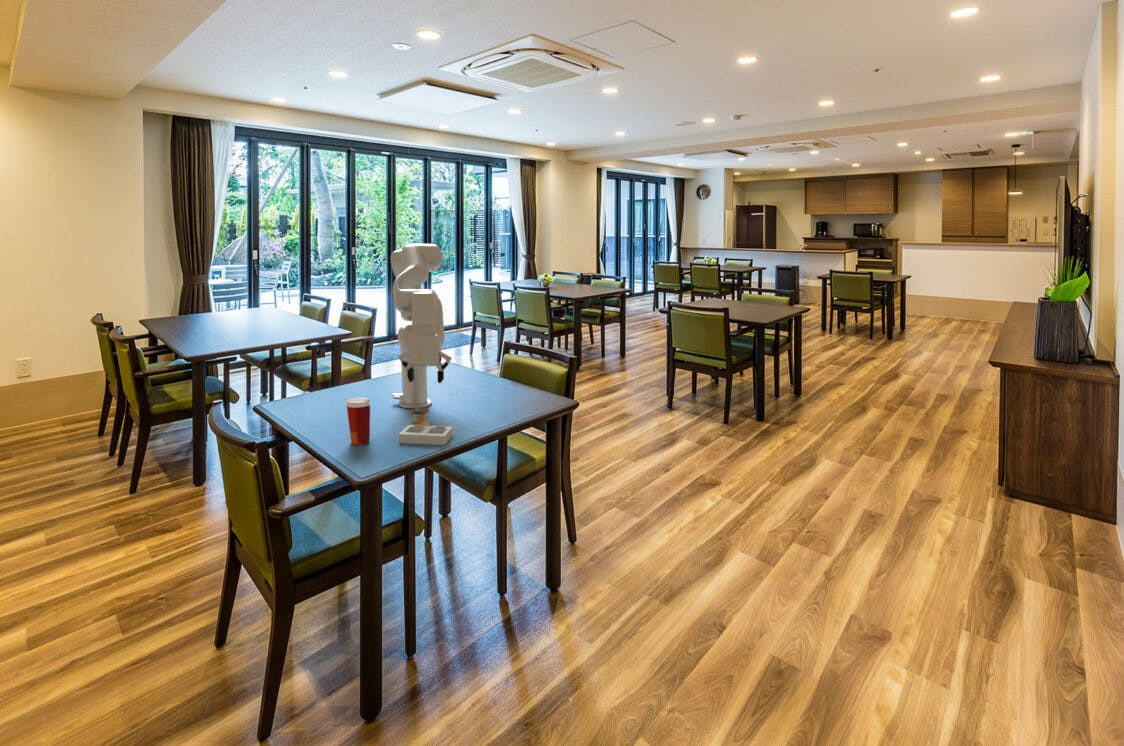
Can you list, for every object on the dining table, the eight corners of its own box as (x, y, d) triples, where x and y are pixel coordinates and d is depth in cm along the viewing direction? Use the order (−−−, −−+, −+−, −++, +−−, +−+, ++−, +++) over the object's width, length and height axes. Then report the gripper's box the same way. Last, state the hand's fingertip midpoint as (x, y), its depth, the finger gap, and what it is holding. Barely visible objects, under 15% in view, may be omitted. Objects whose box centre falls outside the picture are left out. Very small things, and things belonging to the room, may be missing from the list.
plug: (413, 430, 211) (412, 411, 209) (417, 427, 215) (416, 407, 213) (425, 431, 210) (424, 411, 209) (428, 427, 214) (428, 408, 213)
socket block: (399, 442, 198) (398, 433, 197) (409, 433, 208) (409, 423, 207) (444, 445, 197) (444, 435, 196) (452, 435, 207) (452, 425, 206)
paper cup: (375, 438, 202) (373, 397, 199) (369, 446, 195) (367, 403, 192) (351, 438, 202) (349, 396, 199) (344, 446, 194) (341, 403, 191)
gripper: (394, 330, 196) (396, 383, 199) (447, 332, 194) (448, 385, 198) (402, 327, 203) (404, 378, 207) (453, 329, 202) (454, 380, 205)
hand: (425, 381), depth 202 cm, fingers open, 9 cm apart
